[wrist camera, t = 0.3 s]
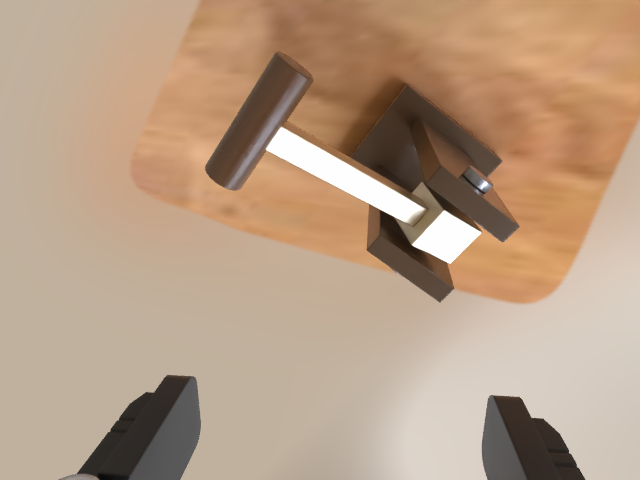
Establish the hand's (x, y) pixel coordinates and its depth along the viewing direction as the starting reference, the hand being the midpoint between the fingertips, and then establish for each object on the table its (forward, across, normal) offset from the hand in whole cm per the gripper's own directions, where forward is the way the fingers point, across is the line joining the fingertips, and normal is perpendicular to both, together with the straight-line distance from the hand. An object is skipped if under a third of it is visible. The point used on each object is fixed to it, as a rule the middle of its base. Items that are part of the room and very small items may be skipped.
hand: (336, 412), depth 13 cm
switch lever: (+10, 0, -5) cm, 11 cm away
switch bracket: (+22, -4, -4) cm, 23 cm away
